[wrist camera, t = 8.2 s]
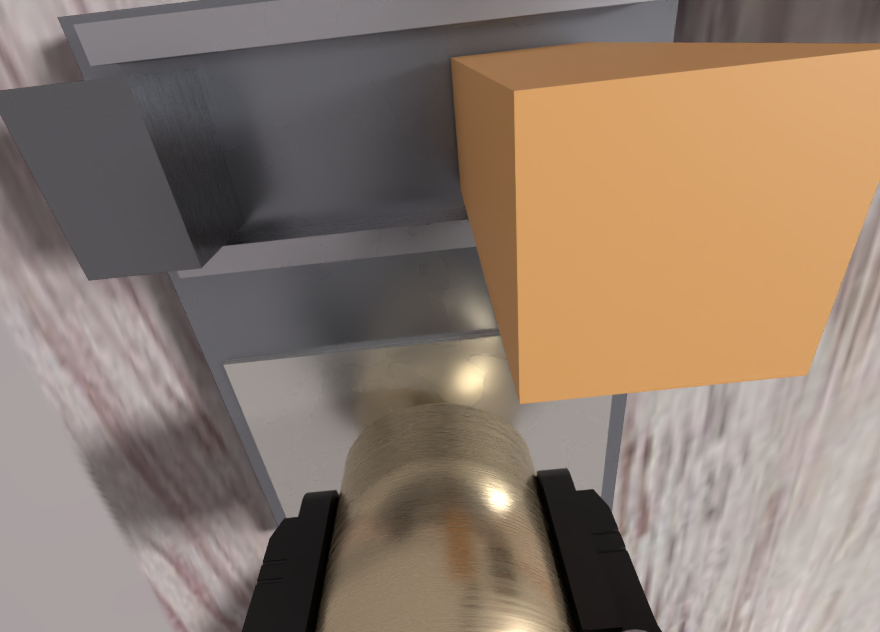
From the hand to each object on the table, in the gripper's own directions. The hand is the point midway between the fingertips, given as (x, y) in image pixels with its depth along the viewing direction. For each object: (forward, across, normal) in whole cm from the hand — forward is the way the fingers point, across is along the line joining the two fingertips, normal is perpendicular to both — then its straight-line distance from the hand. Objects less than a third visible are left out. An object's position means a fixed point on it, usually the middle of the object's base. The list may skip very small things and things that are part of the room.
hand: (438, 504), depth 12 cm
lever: (+2, -2, -8) cm, 9 cm away
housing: (+1, 0, 0) cm, 1 cm away
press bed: (+4, 0, -3) cm, 5 cm away
